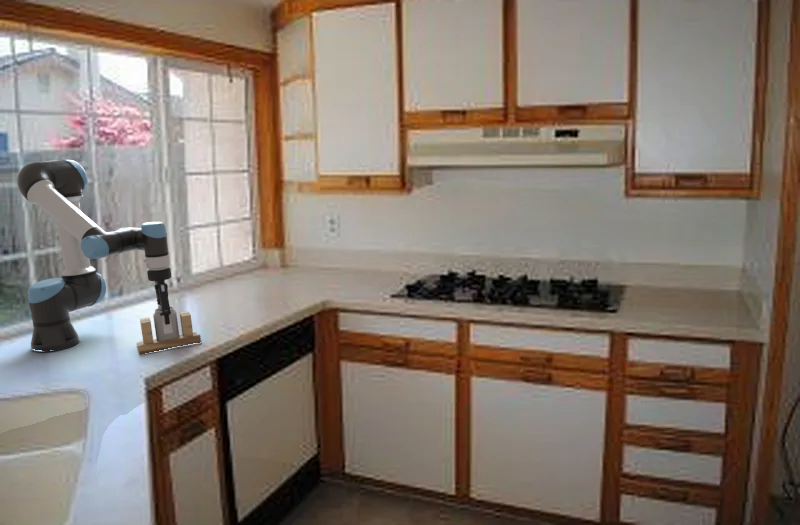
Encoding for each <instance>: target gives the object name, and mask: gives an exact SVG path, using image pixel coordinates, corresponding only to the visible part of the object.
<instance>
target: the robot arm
mask: <svg viewBox="0 0 800 525" xmlns="http://www.w3.org/2000/svg"><path fill="white" fill-rule="evenodd" d="M16 179H17V180H16V181H17V183H16V184H17V187H18V190H19V192H20V194H21V195H22V196H23V197H24V199H25V200H26V201H28V202H29V203H30V204H32V205H37V206H39V207H40V208H41V209H42V210H43V211H45V212H46V213H47V214H48V215H49V216H50V217H51V218H53V220H55V223H56V228H57V234H58V239H59V244H60V250H61V254H62V261H63V266H64V270H63V271H62V272H61V274H60V276H61V277H53V278H48V279H44V280H40V281H38V282H35V283H33V284H31V285H30V286H28V289H27V301H28V303H29V304H28V305H29V309H30V315H31V320H32V325H33V329H32V330H33V331H32V336H31V341H30V346H31V347H30V348H31V350H32V349H35V350H42V351H50V350H58V351H62V350H66V349H68V348H71V347H74V346H76V345H77V344H79V342H80V338H79V335H78V333H77V331H76V329H75V327H74V325H73V323H72V322H71V318H70V313H71V312H74V311H78V310H81V309H84V308H87V307H93V306H95V305H96V304H99V303H100V302H102V301H103V299H104V298H105V296H106V294H107V283H106V281H105V279H104V278H103V276H102V274H101V273H98V272H97V269H96V268H95V267H94V266H92V265H91V261H90V260H94V259H103V258H106V257H110V256H114V255H118V254H123V253H126V252H127V253H128V252H132V251H144V257H145V259H143V262H144V263H145V264H146V268H147V270H146V272H147V279H148V281H150V282H154V284H153V285H154V292H155V294H156V302H157V309H158V308H161V310H162V313H160V316H162V321H163V329H164V334H168V333H173V330H172V322H171V311H170V307H171V306H170V302H169V291H168V290H169V286H168V284H167V283H166V280H170V279H171V278H172V268H171V267H170V266H171V260H170V258H171V257H170V254H169V243H168V234H167V230H166V225H165V223H164V222H162V221H147V222H144V223H142V224H141V227H131V226H128V227H127V226H126V227H120V228H118V230H115V231H108V232H107V231H105V230H103V229H102V228H101V227H100V226H99V225H98V224H96V223H95V222H94V221H93V220H92V219H91V218H90V217H88V216H87V215H86V214H85V213H83V212H82V209H81V204H80V200H81V199H82V198H83V197H84V194H83V191H84V190H86V188H87V185H88V183H89V182H88V175H87V172H86V171H85V169H84V167H83V166H82V165H81V164H80V163H79V162H78V161H75V160H72V159H62V158H61V159H56V160H55V159H54V160H46V161H45V160H44V161H43V160H42V161H33V162H30V163H27V164H26V165H24V166H23V167H22V168H21V169H20V171H19V172H18V175H17V178H16ZM166 310H168V311H166ZM61 349H62V350H61Z"/></svg>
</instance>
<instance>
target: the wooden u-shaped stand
mask: <svg viewBox="0 0 800 525" xmlns="http://www.w3.org/2000/svg"><path fill="white" fill-rule="evenodd" d="M179 319H180V327H181V334H179V337H180V338H177V339H171V340H166V341H160V342H157V339H156V338H155V339H154V336H153V335H154V334H153V329H152V321H151V318H150V317H145V318H139V321H140V328H141V337H142V341H140V342H136V346H137V351H138V355H139V356H143V355H142V354H144V355H146V354H145V353H149V352H154V351H159V350H164V349H168V348H172V347H177V346H183V345H188V344H193V343H200V342H201V343H202V339H201V337H202V336H201V334H197V332H194V331H193V323H192V316H191V313H190V311H189V310H187V311H181V312H179ZM149 354H150V353H149Z"/></svg>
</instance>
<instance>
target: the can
mask: <svg viewBox="0 0 800 525" xmlns="http://www.w3.org/2000/svg"><path fill="white" fill-rule="evenodd" d="M166 311H168V310H166ZM170 311H171V322H172V330H173V333H168V334H164V329H163V321H162V316H160V313H162V310H161V308H158V307H157V308H155V309H154V313H153V314H152V315H153V316H152V317H153V324H154V330H155V336H156V337H155V339H157V342H160V341H166V340H171V339H177V338H180V337H179V335H180V330H179V323H178V314H177V311H176V310H175V307H174V306H170Z"/></svg>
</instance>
